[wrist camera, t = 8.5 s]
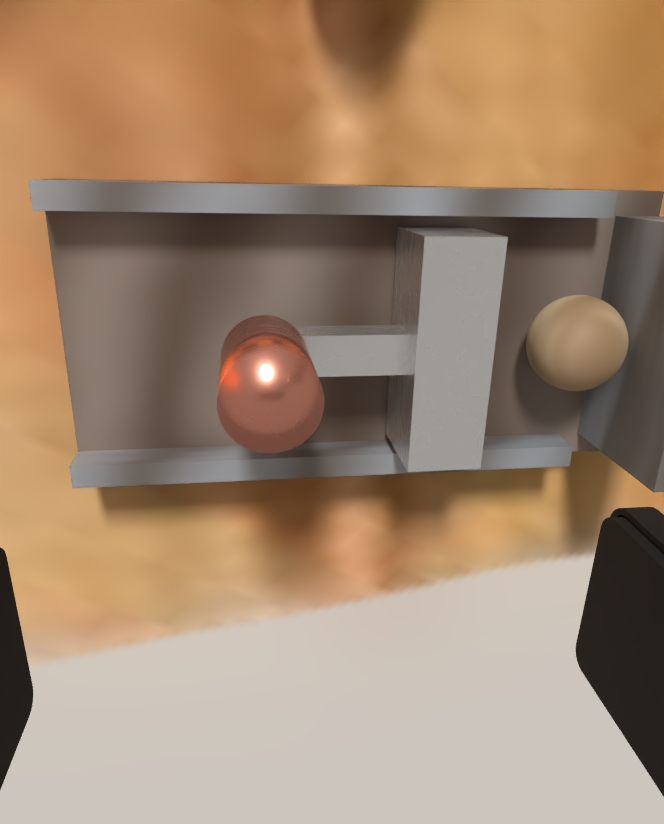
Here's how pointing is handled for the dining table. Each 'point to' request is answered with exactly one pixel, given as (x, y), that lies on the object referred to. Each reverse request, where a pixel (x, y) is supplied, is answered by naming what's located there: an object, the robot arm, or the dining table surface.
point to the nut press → (347, 320)
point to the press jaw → (383, 357)
